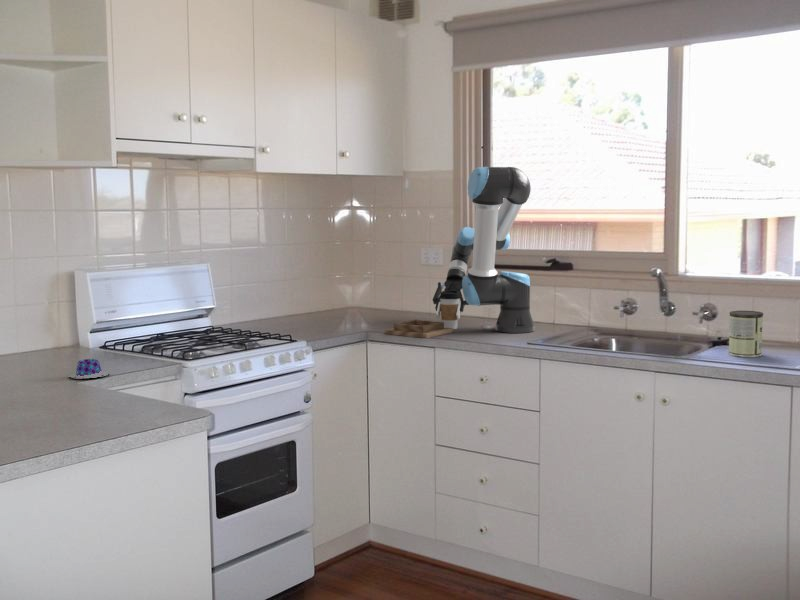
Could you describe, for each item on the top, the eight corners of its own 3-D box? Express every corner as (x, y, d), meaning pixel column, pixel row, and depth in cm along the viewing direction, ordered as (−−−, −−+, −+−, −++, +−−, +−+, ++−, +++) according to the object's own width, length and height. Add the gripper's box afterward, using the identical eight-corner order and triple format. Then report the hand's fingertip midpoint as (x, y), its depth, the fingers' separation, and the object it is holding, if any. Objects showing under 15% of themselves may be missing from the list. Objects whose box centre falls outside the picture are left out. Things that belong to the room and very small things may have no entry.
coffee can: (726, 351, 297) (727, 310, 296) (758, 352, 295) (760, 310, 293) (730, 357, 287) (731, 314, 286) (764, 358, 285) (765, 314, 283)
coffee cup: (460, 326, 361) (460, 290, 360) (459, 329, 353) (459, 292, 351) (439, 326, 362) (439, 290, 360) (438, 329, 354) (438, 292, 352)
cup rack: (453, 332, 347) (453, 322, 347) (426, 338, 333) (426, 327, 332) (412, 328, 359) (412, 318, 359) (385, 333, 345) (384, 323, 344)
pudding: (118, 375, 269) (117, 358, 269) (88, 383, 259) (87, 365, 258) (89, 372, 275) (88, 355, 274) (59, 379, 264) (58, 362, 263)
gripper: (482, 279, 367) (474, 323, 354) (434, 278, 373) (424, 321, 360) (479, 267, 361) (471, 311, 348) (431, 267, 367) (421, 310, 354)
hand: (447, 316), depth 354 cm, fingers closed on coffee cup, 8 cm apart
